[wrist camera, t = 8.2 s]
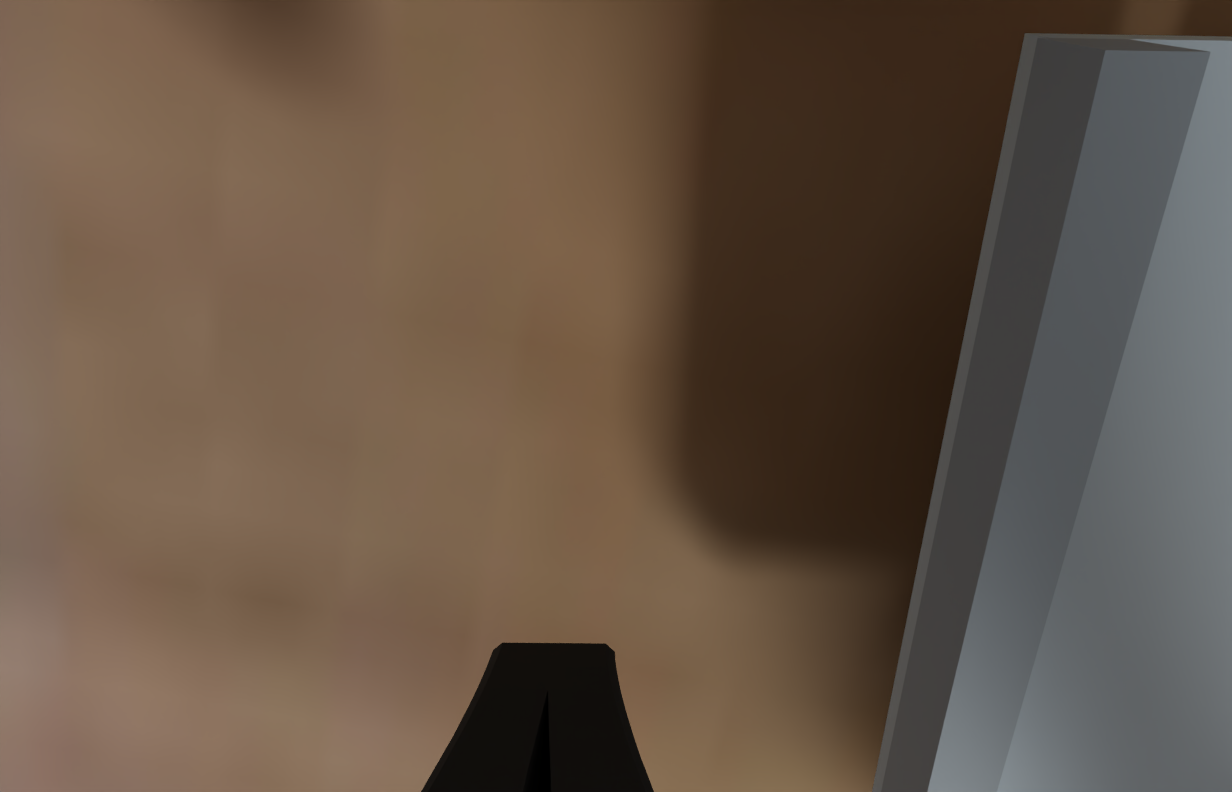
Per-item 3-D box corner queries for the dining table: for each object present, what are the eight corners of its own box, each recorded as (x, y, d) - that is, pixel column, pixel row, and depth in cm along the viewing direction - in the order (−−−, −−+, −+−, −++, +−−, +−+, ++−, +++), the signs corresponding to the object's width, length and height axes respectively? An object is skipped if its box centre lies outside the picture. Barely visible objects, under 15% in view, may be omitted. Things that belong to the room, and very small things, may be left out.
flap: (1175, 875, 17) (1249, 996, 15) (847, 872, 17) (878, 994, 15) (1543, 41, 10) (1760, 61, 8) (1012, 32, 10) (1105, 50, 8)
